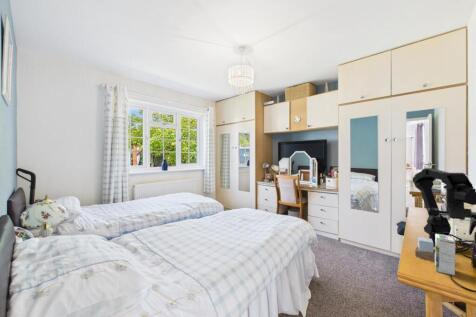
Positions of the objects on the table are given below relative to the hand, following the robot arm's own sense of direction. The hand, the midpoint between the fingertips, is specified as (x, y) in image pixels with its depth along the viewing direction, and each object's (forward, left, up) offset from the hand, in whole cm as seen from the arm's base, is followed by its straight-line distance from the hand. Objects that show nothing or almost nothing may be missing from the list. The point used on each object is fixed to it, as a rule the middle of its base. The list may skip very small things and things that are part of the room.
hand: (455, 232), depth 97 cm
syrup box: (+17, -5, -12) cm, 21 cm away
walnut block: (+6, -10, -12) cm, 17 cm away
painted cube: (+6, -11, -9) cm, 15 cm away
